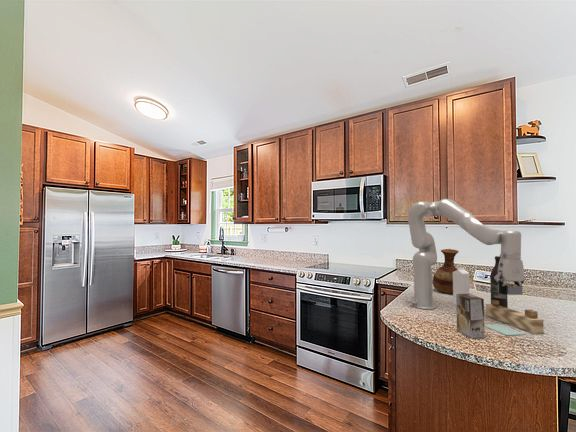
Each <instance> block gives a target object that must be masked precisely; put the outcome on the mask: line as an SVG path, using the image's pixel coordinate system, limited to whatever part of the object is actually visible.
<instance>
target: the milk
mask: <svg viewBox="0 0 576 432" xmlns="http://www.w3.org/2000/svg"><path fill="white" fill-rule="evenodd" d="M456 268H457V270H456V271H454V272H453V294H452V296H453V297H452V300H453V301H452V302H453V303H452V304H453V305H455V306H457V305H456V294H470V273H469V271H468V270H465V266H458V267H456Z"/></svg>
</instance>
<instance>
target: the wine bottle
mask: <svg viewBox="0 0 576 432" xmlns="http://www.w3.org/2000/svg"><path fill="white" fill-rule="evenodd" d="M500 259H501V257H500V255H499V256H498V255H496V256H494V261H495V262H494V266H493V268H492V269H491V272H490V278H489V279H490V280H489V281H490V304H492V300H497V301H499V306H502V307H506V308H509V304H508V303H509V302H508V294H506V295H503V294H500V293H499V292H498V283H497V282H496V280H495V279H494V277H495V276H496V275H497V274H498V265H499V260H500ZM502 282H503V281H502Z"/></svg>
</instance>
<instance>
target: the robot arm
mask: <svg viewBox="0 0 576 432" xmlns="http://www.w3.org/2000/svg"><path fill="white" fill-rule="evenodd" d="M441 216H443V217H446V218H448V219H449V220H451V221H452V222H453V223H455V224H456V226H457V225H458V226H459V227H460V228H461V229H463V231H465V232H466V233H468V235H470V236H472V237H473V238H475V239H476V240H477V241H479V242H480V243H482V244H484V245H486V246H493V245H500V254H499V256H500V257H501V259H500V260H499V265H498V274H497V275H496V276H495V277H494V279H495V280H496V282H497V283H498V285H499V293H500V294H503V295H506V286H505V285H506V283H508V282H513V284H516V285H520V286H523V284H524V283H525V281H526V279H527V276H525V270H524V262H523V260H522V259H521V258H522V232H521V231H520V230H519V231H518V230H500V229H499V230H498V229H494V228H492V229H491V228H490V227H488V226H486V225H485V224H484V223H482V222H480V221H479V220H478V219H477V218H476V216H474V214H473V213H471V212H470V211H469V210H467V209H465V208H464V207H462V206H460V205H459V203H457V202H456V201H455V200H453V199H449V198H442V199H440V200H439V201H432V202H429V201H423V200H422V201H418V202H415V203H413V205H411V207H410V208H409V210H408V213H407V220H408V227H409V233H410V240H411V241H410V242H411V243H412V244H411V245H412V246H413V247H414V248H416V249H418V251H417V252H415V253H414V254H413V256H412V265H413V266H412V267H413V278H414V279H413V282H414V283H413V286H414V287H413V288H414V289H413V290H414V291H413V295H414V297H412V298H411V299H406V301H405V302H406V303H407V304H410V305H411V306H412V307H414V308H416V309H417V308H418V309H422V310H435V309H437V305H436V304H435V303H434V295H433V289H434V286H433V271H432V266H434V265H435V264H436V263H437V261H438V253H437V248H436V243H435V239H434V237H433V235H432V234H431V233H429V232H428V231H427V228H426V223H425V220H424V218H425V217H429V218H431V217H441ZM502 281H503V282H502Z"/></svg>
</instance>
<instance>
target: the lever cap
mask: <svg viewBox="0 0 576 432" xmlns="http://www.w3.org/2000/svg"><path fill="white" fill-rule="evenodd" d="M505 286H506V294H507V296H511V295H512V296H515V295H518V296H522V295H523V287H524V286H523V285H522V286H520V285H516V284H514V283H512V282H507V283H506V285H505ZM498 292H499V285H498Z"/></svg>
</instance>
